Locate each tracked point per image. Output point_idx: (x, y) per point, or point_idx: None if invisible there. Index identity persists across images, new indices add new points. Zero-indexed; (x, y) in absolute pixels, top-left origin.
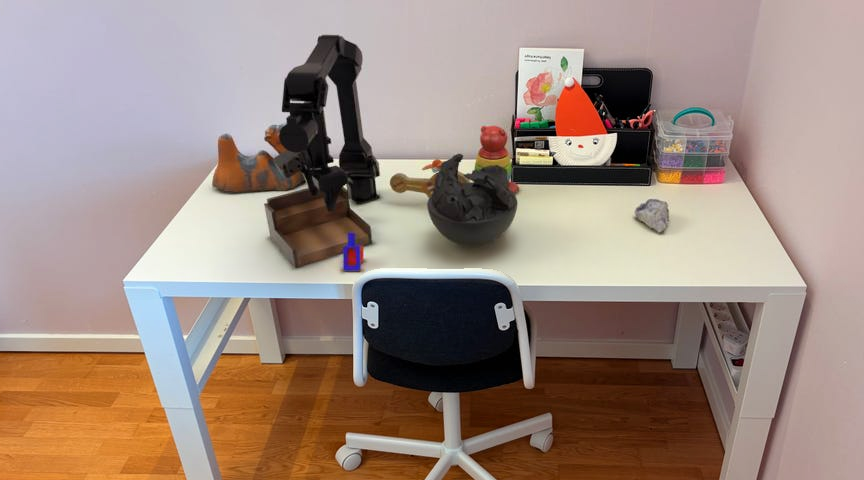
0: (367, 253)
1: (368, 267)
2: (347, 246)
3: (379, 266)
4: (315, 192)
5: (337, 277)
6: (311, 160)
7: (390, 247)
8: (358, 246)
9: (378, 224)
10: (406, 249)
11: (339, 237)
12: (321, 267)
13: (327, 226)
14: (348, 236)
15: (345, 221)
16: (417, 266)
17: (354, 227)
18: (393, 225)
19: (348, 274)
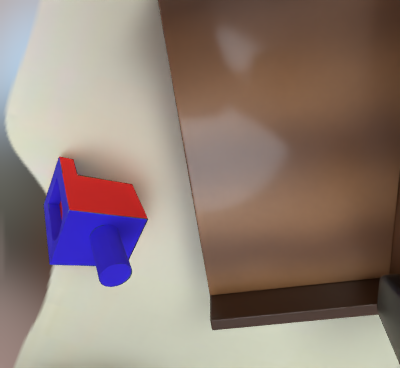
0: (157, 251)
1: None
2: (64, 224)
3: None
4: (391, 322)
5: (33, 124)
6: None
7: (164, 312)
8: (51, 260)
9: (319, 323)
10: (135, 340)
11: (244, 209)
12: (124, 87)
13: (363, 192)
14: (104, 255)
15: (356, 260)
16: (34, 335)
17: (290, 274)
18: (287, 352)
19: (43, 164)
